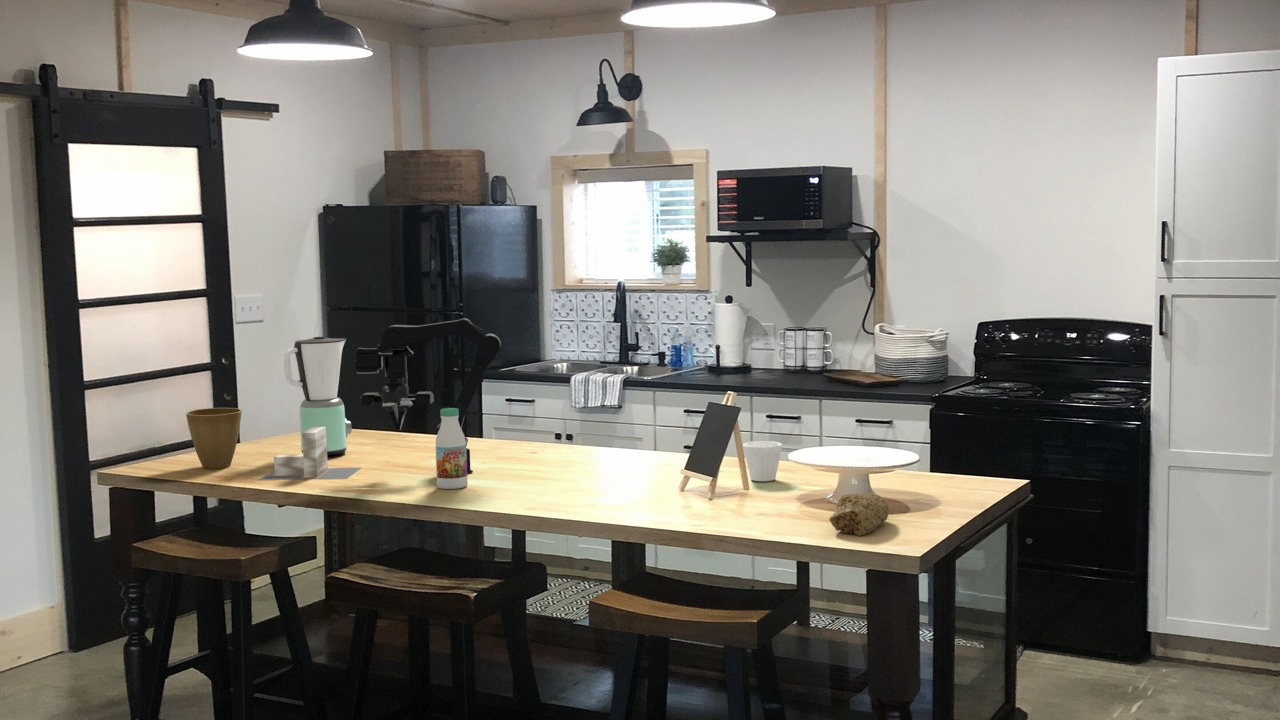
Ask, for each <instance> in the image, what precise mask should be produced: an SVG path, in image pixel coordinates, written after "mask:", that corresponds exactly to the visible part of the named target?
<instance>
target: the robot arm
mask: <svg viewBox="0 0 1280 720" xmlns="http://www.w3.org/2000/svg"><path fill="white" fill-rule="evenodd" d="M456 335H463V336H464V337H466V339H468V340H470V342H472V343H473V344H474V345H476V346H477V350H476V353H475V357H474V362H473V365H472V367H471V370H470V372H469V374H468V375H467V378H466V380H465V382H464V384H463V386H462V389H461V391H460V393H459V395H458V397H457V400H456V402H455V404H454V407H453V408H457V409H458V410H459V417H458V422H459V425H460V428H461V429H462V427H463V424H464V420H465V416H466V414H467V411H468V409H469V406H470V405H471V403H472V400H473V399H474V397H475V394H476V391H477V390H478V387H480V383H481V381H482V379H483V377H484V374H485V373H486V371H487V369H488V368H489V366H490V365H491V363H492V362H493V361H494V359H495V358H496V356H497V355H498V354H499V352H500V350H501V346H502V345H501V344H502V342H501V339H500V338H499V336H497V335H496V334H494V333H487V332H486V331H485V330H483V329H481V328H480V327H479V326H477V325H475V324H474V323H473V322H471V320H470V319H468V318H465V317H464V318H460V319H456V320H451V321H443V322H436V323H430V324H422V325H409V324H406V325H405V324H393V325H390V326H389V327H387V328H386V329H384V332H383V334H382V340H381V342H380V343H379V344H377V347H373V348H372V347H371V348H364V347H357V349H356V357H355V361H354V363H355V371H356V374H357V375H358V374H379V373H380V370H383V369H384V372H385V373H384V375H385V377H384V385H383V387H382V389H381V391H380V393H381V394H380V393H379V392H365V393H363V394H361V396H360V398H359V404H360V406H373V405H374V404H375V403H382V406H381V407H382V409H385V410H386V411H387V412H388V413H389V416H390V417H391V420H392V422H393V425H394V428H395V429H396V431H397V432H399V431H401V430H402V426H403V423H404V420H405V416H406V414H407V412H408V409H409V408H411V407H413V406H414V402H415V403H416V404H417V405H431V404H432V403H434V402H435V395H434V393H433V392H432V391H418V392H417V393H415V394H410V388H409V385H408V378H409V376H408V370H407V369H408V368H407V366H408V365H407V363H408V362H407V357H408V356H413V355H414V351H412V350H411V349H410V348H409V345H410V344H411V343H414V342H417V341H420V340H429V339H433V338H442V337H449V336H456ZM408 344H409V345H408ZM406 345H407V346H406ZM402 346H405V347H404V348H403V349H402V348H401V349H399V348H400V347H402ZM390 348H391V349H392V351H391V352H387V351H388V350H390ZM397 348H398V349H397ZM385 352H386V353H385ZM383 357H384V358H383ZM398 404H399V405H398ZM441 421H442V419H440V423H439V424H438V425H437V427H436V428H435V429H436V431H437V433H438V432H439V429H440V426H441ZM465 441H466V455H467V474H471V473H473V470H472V469H471V450H470V449H471V448H467V445H468V442H469V439H468V438H467V437H466V436H465Z"/></svg>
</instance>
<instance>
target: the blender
mask: <svg viewBox="0 0 1280 720" xmlns="http://www.w3.org/2000/svg"><path fill="white" fill-rule="evenodd" d="M346 341H347V338H331V337H326V336H315V337H312V338H308V339H300V340H295V342H294V346H293V347H291V348H288V349H286V351H284V354H283V366H284V367H283V368H284V375H285V376H284V377H285V379H286V382H287V383H288V384H289V385H291V386H294V387H300V388H301V389H302V391H303V395H304V398H305V399H303V401H302V402H301V403H300V406H299V424H300V448H301V449H300V450H301V451H300V452H301V453H302V454H303V439H302V433H303V432H305V431H306V430H308V429H310V428H312V427H326V442H327V456H334V455H339V457H343V455H344V456H345V455H346V451H347V449H348V447H347V445H348V444H347V438H348V435H350V434H352V432H353V431H352V430H353V428H352V422H351V421H350V420H347V418H346V413H345V411H346V410H345V405H344V402H343V400H342V399H341V398H340V397H338V391H339V382H340V373H341V364H342V354H343V350H344V349H343V348H344V345H345V343H346ZM292 354H295V359H296V363H297V369H298V375H299V380H298V381H297V380H294V378H293V375H292V374H293V373H292V367H291V366H292V365H291V355H292Z"/></svg>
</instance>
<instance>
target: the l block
mask: <svg viewBox="0 0 1280 720" xmlns="http://www.w3.org/2000/svg"><path fill="white" fill-rule="evenodd" d="M302 439H303V453H302V454H277V455H276V456H275V455H274V457H273V464H274V468H273V469H274V470H275V476H279V475H304V477H318V476H320V475H321V474H323V473H324V472H326V471H327V470H328V468H329V467H328V465H329V463H328V455H327V442H326V427H312V428H310V429H308V430H306V431H305V432H303V433H302Z"/></svg>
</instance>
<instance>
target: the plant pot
mask: <svg viewBox="0 0 1280 720" xmlns="http://www.w3.org/2000/svg"><path fill="white" fill-rule="evenodd" d="M185 415H186V420H187V426H188V430H189V433H190V437H191V440H192V444H193V447H194V449H195V453H196V455H197V457H198V460H199V463H200V464H201V466H202V468H203V469H206V470H218V469H226V468H229V467H231V465H232V461H233V458H234V456H235V451H236V448H237V444H238V439H239V434H240V428H241V422H242V421H241V419H242V409H240V408H236V407H213V408H212V407H211V408H210V407H209V408H208V407H207V408H200V409H199V408H198V409H193V410H189V411H186V412H185Z"/></svg>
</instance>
